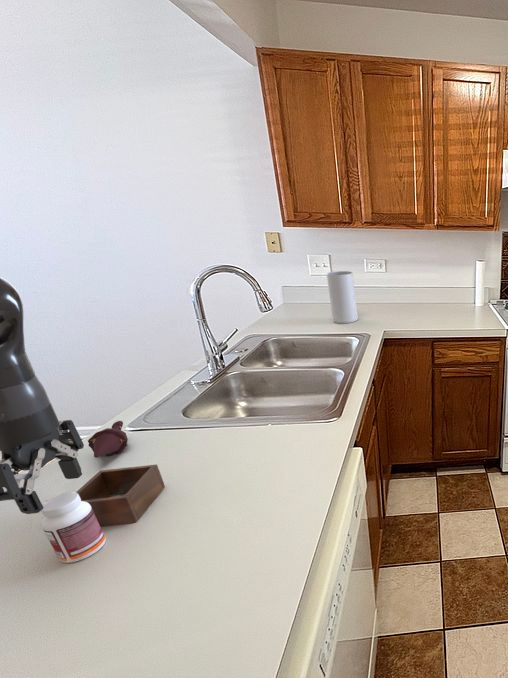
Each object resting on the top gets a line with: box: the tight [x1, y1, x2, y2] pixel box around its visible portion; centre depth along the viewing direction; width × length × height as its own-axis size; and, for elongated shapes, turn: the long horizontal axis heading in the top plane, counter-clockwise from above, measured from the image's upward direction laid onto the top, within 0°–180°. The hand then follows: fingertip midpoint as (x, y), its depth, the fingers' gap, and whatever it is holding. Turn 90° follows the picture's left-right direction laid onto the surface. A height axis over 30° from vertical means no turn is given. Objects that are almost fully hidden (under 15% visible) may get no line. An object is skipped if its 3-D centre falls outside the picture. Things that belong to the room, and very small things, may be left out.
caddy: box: [76, 464, 166, 528], centre depth 80 cm, size 11×11×6 cm
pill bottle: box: [40, 491, 107, 564], centre depth 69 cm, size 6×6×11 cm
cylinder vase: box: [326, 270, 359, 324], centre depth 206 cm, size 12×12×25 cm
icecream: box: [87, 420, 129, 459], centre depth 97 cm, size 7×7×15 cm
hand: (55, 493), depth 66 cm, fingers open, 8 cm apart
